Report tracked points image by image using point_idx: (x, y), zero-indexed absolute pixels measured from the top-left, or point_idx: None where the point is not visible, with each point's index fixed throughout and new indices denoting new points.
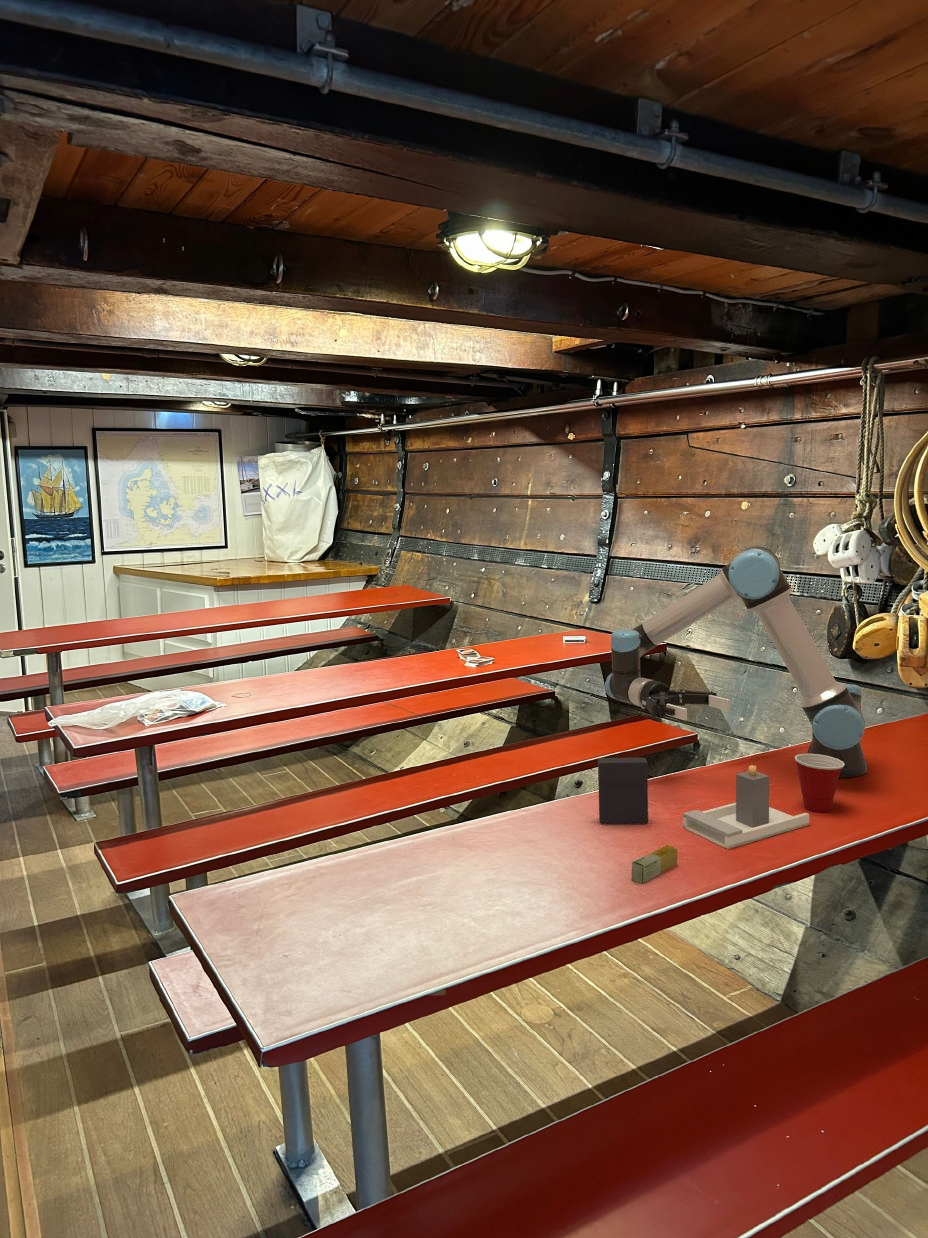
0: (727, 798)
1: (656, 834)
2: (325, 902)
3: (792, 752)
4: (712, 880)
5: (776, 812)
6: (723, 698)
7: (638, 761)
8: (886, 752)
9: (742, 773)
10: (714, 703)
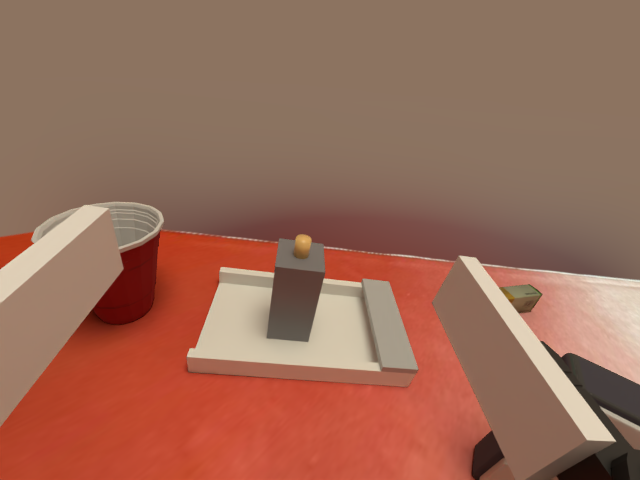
0: (188, 470)
1: (468, 394)
2: None
3: None
4: (438, 269)
5: (215, 324)
6: (54, 238)
7: (601, 370)
8: None
9: (310, 267)
10: (23, 356)
